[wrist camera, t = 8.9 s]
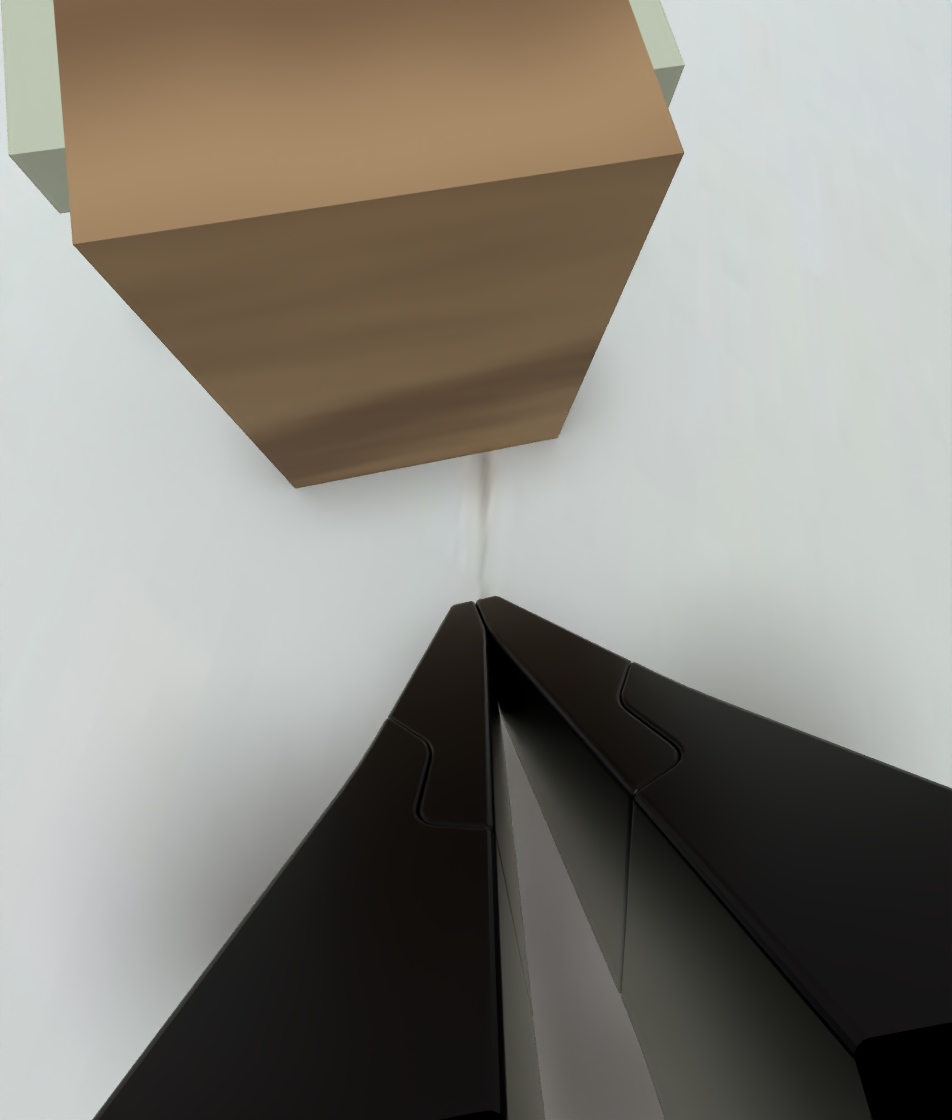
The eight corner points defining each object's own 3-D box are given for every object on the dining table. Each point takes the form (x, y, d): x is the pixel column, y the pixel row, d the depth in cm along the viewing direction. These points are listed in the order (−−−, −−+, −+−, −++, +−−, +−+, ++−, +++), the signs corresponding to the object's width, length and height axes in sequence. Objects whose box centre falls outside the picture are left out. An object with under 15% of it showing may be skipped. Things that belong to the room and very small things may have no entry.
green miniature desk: (608, 266, 19) (684, 64, 13) (168, 338, 18) (8, 155, 11) (550, 78, 21) (591, -182, 14) (145, 132, 19) (-6, -128, 13)
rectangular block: (557, 437, 18) (684, 152, 8) (295, 488, 17) (72, 244, 7) (475, 135, 20) (494, -370, 10) (244, 169, 19) (26, -341, 10)
